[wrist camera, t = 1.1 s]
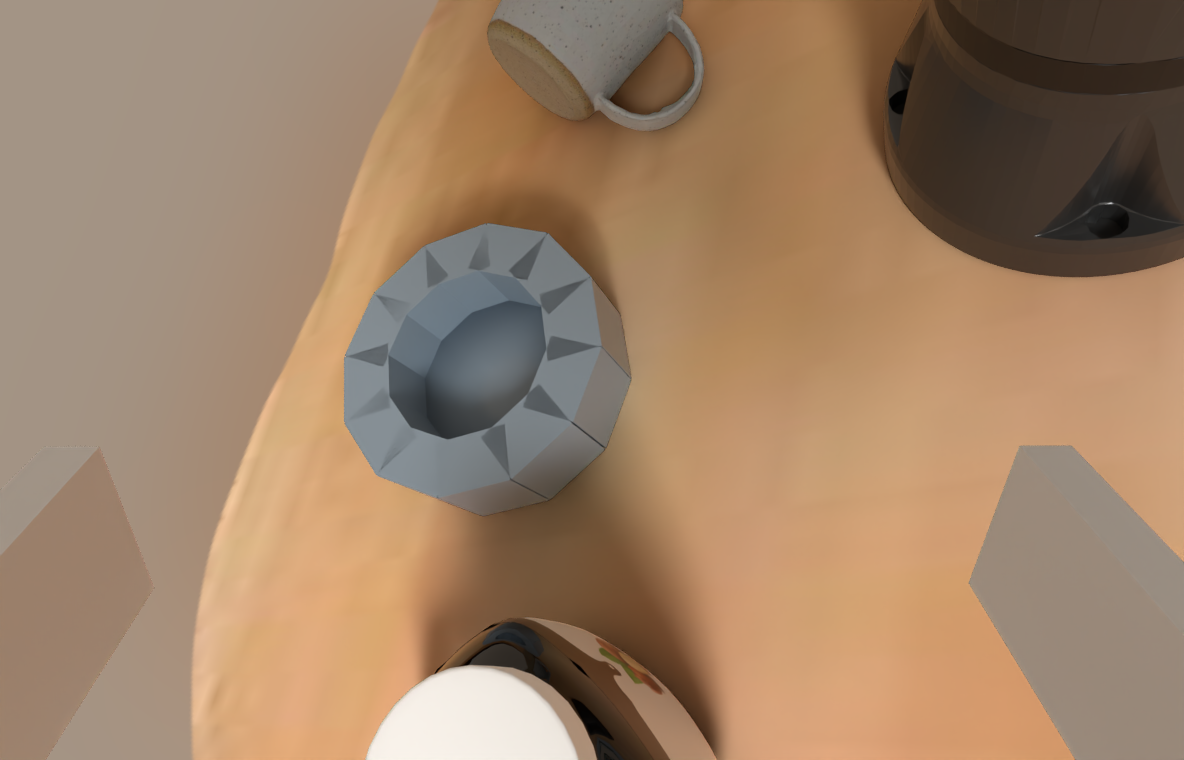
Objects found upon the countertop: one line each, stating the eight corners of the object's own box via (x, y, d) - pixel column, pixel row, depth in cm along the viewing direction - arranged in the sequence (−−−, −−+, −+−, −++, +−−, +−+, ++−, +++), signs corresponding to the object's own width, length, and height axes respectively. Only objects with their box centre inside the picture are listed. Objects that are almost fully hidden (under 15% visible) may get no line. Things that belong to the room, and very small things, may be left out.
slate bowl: (529, 222, 41) (494, 179, 38) (683, 378, 35) (658, 344, 31) (354, 385, 41) (304, 358, 38) (474, 569, 35) (426, 557, 32)
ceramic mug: (515, 103, 45) (448, 2, 38) (601, -3, 45) (551, -121, 38) (649, 174, 40) (600, 72, 33) (745, 54, 40) (715, -71, 33)
